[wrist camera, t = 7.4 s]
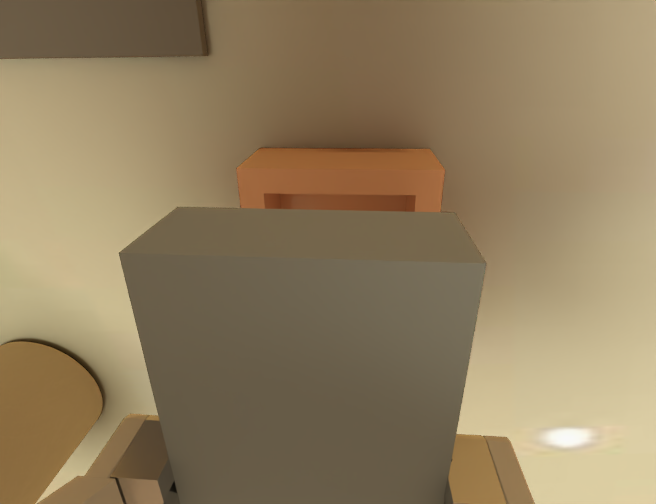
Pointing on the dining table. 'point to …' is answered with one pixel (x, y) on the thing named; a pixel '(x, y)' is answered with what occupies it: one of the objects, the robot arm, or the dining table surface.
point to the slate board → (306, 350)
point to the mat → (101, 28)
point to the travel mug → (40, 416)
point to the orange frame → (342, 179)
